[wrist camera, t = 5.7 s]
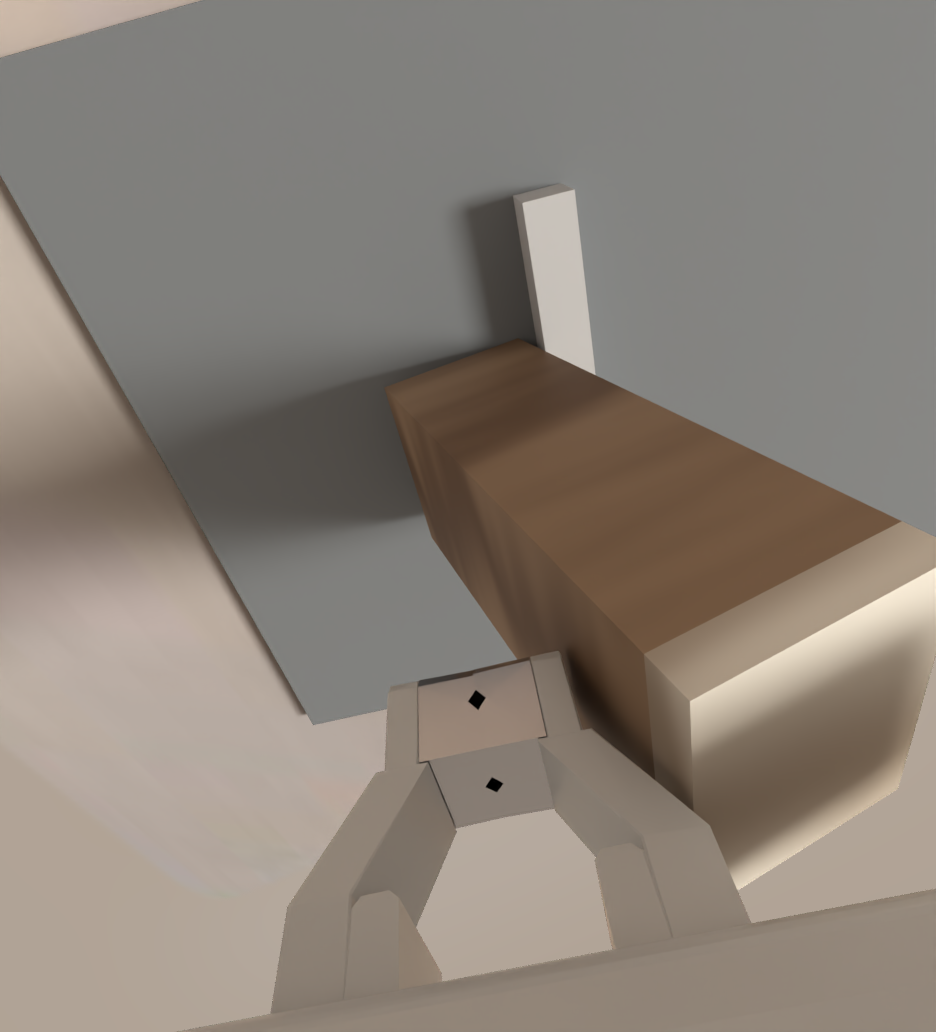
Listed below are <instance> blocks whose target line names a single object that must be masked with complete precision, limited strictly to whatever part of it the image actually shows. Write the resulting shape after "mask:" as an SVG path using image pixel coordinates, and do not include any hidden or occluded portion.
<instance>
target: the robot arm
mask: <svg viewBox="0 0 936 1032" xmlns="http://www.w3.org/2000/svg"><path fill="white" fill-rule="evenodd" d="M530 661H531V662H530ZM531 665H532V666H531ZM532 669H533V670H532ZM534 678H535V679H534ZM537 691H538V692H537ZM549 809H555V811H556V812H557V813H558V814H559V816H560V817H561V818H562V819H563V820H564V821H565V823H566V824H567V825H568V826H569V827H570V828H571V829H572V830H573V832H574V833H575V834H576V835H577V836H578V837H579V838H580V840H581V841H582V842H583V843H584V844H585V845H586V846H587V848H589V850H590V851H591V852H592V853H593V854H594V855H595V857H596V858H595V864H596V869H597V874H598V879H599V884H600V889H601V894H602V900H603V905H604V910H605V915H606V921H607V926H608V931H609V936H610V941H611V945H612V950H608V951H602V952H597V953H591V954H586V955H581V956H575V957H570V958H565V959H559V960H554V961H549V962H544V963H538V964H533V965H528V966H522V967H517V968H512V969H506V970H501V971H496V972H490V973H485V974H480V975H475V976H469V977H464V978H458V979H453V980H448V981H442V976H441V971H440V969H439V968H438V966H437V964H436V962H435V961H434V959H433V957H432V955H431V953H430V952H429V950H428V948H427V946H426V945H425V943H424V941H423V939H422V937H421V936H420V934H419V933H418V930H417V929H416V926H417V923H418V921H419V919H420V916H421V914H422V912H423V910H424V907H425V905H426V902H427V900H428V898H429V895H430V893H431V891H432V888H433V886H434V884H435V881H436V879H437V877H438V874H439V872H440V869H441V867H442V864H443V862H444V860H445V858H446V856H447V853H448V851H449V848H450V846H451V843H452V841H453V839H454V837H455V834H456V832H457V831H456V828H460V827H464V826H468V825H473V824H477V823H481V822H486V821H490V820H494V819H499V818H503V817H508V816H514V815H520V814H526V813H532V812H537V811H543V810H549ZM177 1032H936V889H932V890H926V891H921V892H916V893H910V894H905V895H900V896H895V897H889V898H884V899H879V900H873V901H868V902H863V903H857V904H852V905H847V906H841V907H836V908H831V909H825V910H821V911H815V912H810V913H805V914H799V915H794V916H788V917H783V918H778V919H772V920H767V921H762V922H756V923H751V921H750V919H749V917H748V914H747V912H746V909H745V907H744V905H743V902H742V900H741V898H740V896H739V893H738V891H737V888H736V886H735V884H734V881H733V879H732V876H731V874H730V872H729V869H728V867H727V865H726V862H725V860H724V858H723V855H722V853H721V851H720V848H719V846H718V843H717V841H716V839H715V836H714V834H713V832H712V829H711V827H710V825H709V824H708V823H706V822H705V821H704V820H703V819H702V818H700V817H699V816H698V815H697V814H696V813H694V812H693V811H692V810H691V809H689V808H688V807H687V806H686V805H685V804H683V803H682V802H681V801H680V800H678V799H677V798H676V797H675V796H674V795H672V794H671V793H670V792H669V791H667V790H666V789H665V788H664V787H663V786H661V785H660V784H659V783H658V782H657V781H655V780H654V779H653V778H652V777H650V776H649V775H648V774H647V773H646V772H644V771H643V770H642V769H641V768H639V767H638V766H637V765H636V764H635V763H633V762H632V761H631V760H630V759H628V758H627V757H626V756H625V755H624V754H622V753H621V752H620V751H619V750H618V749H616V748H615V747H614V746H613V745H611V744H610V743H609V742H608V741H607V740H605V739H604V738H603V737H602V736H600V735H599V734H598V733H597V732H596V731H594V730H593V729H592V728H591V729H585V730H583V729H582V726H581V722H580V719H579V715H578V712H577V708H576V705H575V701H574V697H573V694H572V690H571V687H570V683H569V680H568V676H567V673H566V669H565V666H564V662H563V659H562V655H561V654H560V652H559V651H554V652H550V653H545V654H541V655H536V656H532V657H530V658H529V657H526V658H522V659H518V660H513V661H509V662H504V663H500V664H495V665H491V666H487V667H482V668H478V669H474V670H472V671H466V672H461V673H456V674H450V675H445V676H440V677H434V678H429V679H424V680H419V681H415V682H410V683H405V684H400V685H395V686H391V687H390V689H389V692H388V699H387V724H386V749H385V771H382V772H378V773H376V774H375V775H374V777H373V778H372V780H371V781H370V783H369V784H368V786H367V787H366V789H365V790H364V792H363V793H362V795H361V796H360V798H359V799H358V801H357V802H356V804H355V806H354V807H353V809H352V810H351V812H350V813H349V815H348V816H347V818H346V819H345V821H344V822H343V824H342V825H341V827H340V828H339V830H338V831H337V833H336V834H335V836H334V837H333V839H332V840H331V842H330V843H329V845H328V846H327V848H326V849H325V851H324V852H323V854H322V856H321V857H320V859H319V860H318V862H317V863H316V865H315V866H314V868H313V869H312V871H311V872H310V874H309V876H308V877H307V878H306V880H305V881H304V883H303V884H302V886H301V887H300V889H299V890H298V892H297V894H296V895H295V896H294V898H293V899H292V901H291V903H290V904H289V906H288V907H287V913H286V919H285V925H284V932H283V938H282V945H281V951H280V957H279V963H278V970H277V976H276V982H275V988H274V995H273V1001H272V1008H271V1014H267V1015H262V1016H257V1017H252V1018H246V1019H241V1020H236V1021H230V1022H226V1023H220V1024H215V1025H209V1026H204V1027H199V1028H193V1029H188V1030H183V1031H177Z"/></svg>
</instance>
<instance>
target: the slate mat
mask: <svg viewBox="0 0 936 1032" xmlns="http://www.w3.org/2000/svg"><path fill="white" fill-rule="evenodd" d="M0 176H1V177H2V179H3V181H4V183H5V184H6V186H7V188H8V190H9V192H10V193H11V195H12V197H13V199H14V200H15V202H16V204H17V206H18V207H19V209H20V211H21V213H22V214H23V216H24V218H25V220H26V221H27V223H28V225H29V227H30V228H31V230H32V232H33V234H34V235H35V237H36V239H37V241H38V242H39V244H40V246H41V248H42V249H43V251H44V253H45V255H46V257H47V258H48V260H49V262H50V264H51V265H52V267H53V269H54V271H55V272H56V274H57V276H58V278H59V279H60V281H61V283H62V285H63V286H64V288H65V290H66V292H67V293H68V295H69V297H70V299H71V300H72V302H73V304H74V306H75V307H76V309H77V311H78V313H79V315H80V316H81V318H82V320H83V322H84V323H85V325H86V327H87V329H88V330H89V332H90V334H91V336H92V337H93V339H94V341H95V343H96V344H97V346H98V348H99V350H100V351H101V353H102V355H103V357H104V358H105V360H106V362H107V364H108V365H109V367H110V369H111V371H112V372H113V374H114V376H115V378H116V380H117V381H118V383H119V385H120V387H121V388H122V390H123V392H124V394H125V395H126V397H127V399H128V401H129V402H130V404H131V406H132V408H133V409H134V411H135V413H136V415H137V416H138V418H139V420H140V422H141V423H142V425H143V427H144V429H145V430H146V432H147V434H148V436H149V437H150V439H151V441H152V443H153V445H154V446H155V448H156V450H157V452H158V453H159V455H160V457H161V459H162V460H163V462H164V464H165V466H166V467H167V469H168V471H169V473H170V474H171V476H172V478H173V480H174V481H175V483H176V485H177V487H178V488H179V490H180V492H181V494H182V495H183V497H184V499H185V501H186V503H187V504H188V506H189V508H190V510H191V511H192V513H193V515H194V517H195V518H196V520H197V522H198V524H199V525H200V527H201V529H202V531H203V532H204V534H205V536H206V538H207V539H208V541H209V543H210V545H211V546H212V548H213V550H214V552H215V553H216V555H217V557H218V559H219V560H220V562H221V564H222V566H223V568H224V569H225V571H226V573H227V575H228V576H229V578H230V580H231V582H232V583H233V585H234V587H235V589H236V590H237V592H238V594H239V596H240V597H241V599H242V601H243V603H244V604H245V606H246V608H247V610H248V611H249V613H250V615H251V617H252V618H253V620H254V622H255V624H256V626H257V627H258V629H259V631H260V633H261V634H262V636H263V638H264V640H265V641H266V643H267V645H268V647H269V648H270V650H271V652H272V654H273V655H274V657H275V659H276V661H277V662H278V664H279V666H280V668H281V669H282V671H283V673H284V675H285V676H286V678H287V680H288V682H289V683H290V685H291V687H292V689H293V691H294V692H295V694H296V696H297V698H298V699H299V701H300V703H301V705H302V706H303V708H304V710H305V712H306V713H307V715H308V717H309V719H310V720H311V722H312V724H313V725H316V724H320V723H325V722H329V721H334V720H339V719H343V718H348V717H352V716H357V715H361V714H366V713H371V712H375V711H380V710H384V709H387V699H388V692H389V689H390V687H391V686H395V685H400V684H405V683H410V682H415V681H419V680H424V679H429V678H434V677H440V676H445V675H450V674H456V673H461V672H466V671H472V670H474V669H478V668H482V667H487V666H491V665H495V664H500V663H504V662H509V661H513V660H517V658H516V657H515V656H514V654H513V653H512V651H511V650H510V648H509V647H508V646H507V644H506V643H505V641H504V640H503V638H502V637H501V636H500V634H499V633H498V631H497V630H496V629H495V627H494V626H493V624H492V623H491V621H490V620H489V619H488V617H487V616H486V614H485V613H484V611H483V610H482V609H481V607H480V606H479V604H478V603H477V601H476V600H475V599H474V597H473V596H472V594H471V593H470V591H469V590H468V589H467V587H466V586H465V584H464V583H463V581H462V580H461V579H460V577H459V576H458V574H457V573H456V572H455V570H454V569H453V567H452V566H451V564H450V563H449V562H448V560H447V559H446V557H445V556H444V554H443V553H442V552H441V550H440V549H439V547H438V546H437V544H436V543H435V542H434V540H433V539H432V537H431V534H430V531H429V528H428V524H427V521H426V518H425V515H424V512H423V509H422V506H421V502H420V499H419V496H418V493H417V490H416V487H415V483H414V480H413V477H412V474H411V471H410V468H409V465H408V461H407V458H406V455H405V452H404V449H403V446H402V442H401V439H400V436H399V433H398V430H397V427H396V424H395V420H394V417H393V414H392V411H391V408H390V405H389V401H388V398H387V395H386V392H385V389H384V387H387V386H390V385H392V384H395V383H398V382H400V381H403V380H406V379H409V378H411V377H414V376H417V375H419V374H422V373H425V372H428V371H430V370H433V369H436V368H438V367H441V366H444V365H447V364H449V363H452V362H455V361H458V360H460V359H463V358H466V357H468V356H471V355H474V354H477V353H479V352H482V351H485V350H487V349H490V348H493V347H496V346H498V345H501V344H504V343H507V342H509V341H512V340H515V339H517V338H519V339H521V340H523V341H525V342H527V343H529V344H531V345H533V346H535V347H538V348H540V349H542V350H544V351H546V352H548V353H550V354H552V355H554V356H556V357H558V358H561V359H563V360H565V361H567V362H569V363H571V364H573V365H575V366H577V367H579V368H582V369H584V370H586V371H588V372H590V373H592V374H594V375H596V376H598V377H600V378H603V379H605V380H607V381H609V382H611V383H613V384H615V385H617V386H619V387H621V388H624V389H626V390H628V391H630V392H632V393H634V394H636V395H638V396H640V397H642V398H644V399H647V400H649V401H651V402H653V403H655V404H657V405H659V406H661V407H663V408H665V409H668V410H670V411H672V412H674V413H676V414H678V415H680V416H682V417H684V418H686V419H689V420H691V421H693V422H695V423H697V424H699V425H701V426H703V427H705V428H707V429H710V430H712V431H714V432H716V433H718V434H720V435H722V436H724V437H726V438H728V439H730V440H733V441H735V442H737V443H739V444H741V445H743V446H745V447H747V448H749V449H751V450H754V451H756V452H758V453H760V454H762V455H764V456H766V457H768V458H770V459H772V460H775V461H777V462H779V463H781V464H783V465H785V466H787V467H789V468H791V469H793V470H796V471H798V472H800V473H802V474H804V475H806V476H808V477H810V478H812V479H814V480H816V481H819V482H821V483H823V484H825V485H827V486H829V487H831V488H833V489H835V490H837V491H840V492H842V493H844V494H846V495H848V496H850V497H852V498H854V499H856V500H858V501H861V502H863V503H865V504H867V505H869V506H871V507H873V508H875V509H877V510H879V511H882V512H884V513H886V514H888V515H890V516H892V517H894V518H896V519H898V520H900V521H902V522H905V523H907V524H909V525H911V526H913V527H915V528H917V529H919V530H921V531H923V532H926V533H928V534H930V535H932V536H934V537H936V0H202V1H198V2H195V3H191V4H188V5H184V6H181V7H177V8H174V9H170V10H167V11H163V12H160V13H156V14H153V15H149V16H146V17H142V18H139V19H135V20H132V21H128V22H125V23H121V24H118V25H114V26H111V27H107V28H104V29H100V30H97V31H93V32H90V33H86V34H83V35H79V36H76V37H72V38H68V39H65V40H61V41H58V42H54V43H51V44H47V45H44V46H40V47H37V48H33V49H30V50H26V51H23V52H19V53H16V54H12V55H9V56H5V57H2V58H0Z"/></svg>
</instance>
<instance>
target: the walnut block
mask: <svg viewBox="0 0 936 1032" xmlns="http://www.w3.org/2000/svg"><path fill="white" fill-rule="evenodd" d="M384 389H385V392H386V395H387V398H388V401H389V405H390V408H391V411H392V414H393V417H394V420H395V424H396V427H397V430H398V433H399V436H400V439H401V442H402V446H403V449H404V452H405V455H406V458H407V461H408V465H409V468H410V471H411V474H412V477H413V480H414V483H415V487H416V490H417V493H418V496H419V499H420V502H421V506H422V509H423V512H424V515H425V518H426V521H427V524H428V528H429V531H430V534H431V537H432V539H433V540H434V542H435V543H436V544H437V546H438V547H439V549H440V550H441V552H442V553H443V554H444V556H445V557H446V559H447V560H448V562H449V563H450V564H451V566H452V567H453V569H454V570H455V572H456V573H457V574H458V576H459V577H460V579H461V580H462V581H463V583H464V584H465V586H466V587H467V589H468V590H469V591H470V593H471V594H472V596H473V597H474V599H475V600H476V601H477V603H478V604H479V606H480V607H481V609H482V610H483V611H484V613H485V614H486V616H487V617H488V619H489V620H490V621H491V623H492V624H493V626H494V627H495V629H496V630H497V631H498V633H499V634H500V636H501V637H502V638H503V640H504V641H505V643H506V644H507V646H508V647H509V648H510V650H511V651H512V653H513V654H514V656H515V657H516V658H517V660H518V659H522V658H526V657H529V658H530V657H532V656H536V655H541V654H545V653H550V652H554V651H559V652H560V654H561V655H562V659H563V662H564V666H565V669H566V673H567V676H568V680H569V683H570V687H571V690H572V694H573V697H574V701H575V705H576V708H577V712H578V715H579V719H580V722H581V726H582V729H583V730H585V729H591V728H592V729H593V730H594V731H596V732H597V733H598V734H599V735H600V736H602V737H603V738H604V739H605V740H607V741H608V742H609V743H610V744H611V745H613V746H614V747H615V748H616V749H618V750H619V751H620V752H621V753H622V754H624V755H625V756H626V757H627V758H628V759H630V760H631V761H632V762H633V763H635V764H636V765H637V766H638V767H639V768H641V769H642V770H643V771H644V772H646V773H647V774H648V775H649V776H650V777H652V778H653V779H654V780H655V781H657V782H658V783H659V784H660V785H661V786H663V787H664V788H665V789H666V790H667V791H669V792H670V793H671V794H672V795H674V796H675V797H676V798H677V799H678V800H680V801H681V802H682V803H683V804H685V805H686V806H687V807H688V808H689V809H691V810H692V811H693V812H694V813H696V814H697V815H698V816H699V817H700V818H702V819H703V820H704V821H705V822H706V823H708V824H709V825H710V827H711V829H712V832H713V834H714V836H715V839H716V841H717V843H718V846H719V848H720V851H721V853H722V855H723V858H724V860H725V862H726V865H727V867H728V869H729V872H730V874H731V876H732V879H733V881H734V884H735V886H736V888H737V891H738V890H739V889H741V888H742V887H744V886H745V885H747V884H749V883H750V882H752V881H753V880H755V879H757V878H758V877H760V876H761V875H763V874H764V873H766V872H768V871H769V870H771V869H772V868H774V867H775V866H777V865H779V864H780V863H782V862H783V861H785V860H786V859H788V858H790V857H791V856H793V855H794V854H796V853H798V852H799V851H801V850H802V849H804V848H805V847H807V846H809V845H810V844H812V843H813V842H815V841H816V840H818V839H820V838H821V837H823V836H824V835H826V834H828V833H829V832H831V831H832V830H834V829H835V828H837V827H838V826H840V825H842V824H843V823H845V822H846V821H848V820H850V819H851V818H853V817H854V816H856V815H857V814H859V813H861V812H862V811H863V810H865V809H867V808H869V807H870V806H872V805H873V804H875V803H876V802H878V801H880V800H881V799H883V798H884V797H886V796H887V795H889V794H890V793H892V792H894V791H895V790H897V789H898V787H899V783H900V780H901V776H902V773H903V769H904V766H905V762H906V759H907V755H908V751H909V748H910V745H911V741H912V738H913V734H914V731H915V727H916V723H917V720H918V716H919V713H920V710H921V706H922V702H923V699H924V695H925V692H926V688H927V685H928V681H929V678H930V674H931V671H932V667H933V664H934V660H935V657H936V537H934V536H932V535H930V534H928V533H926V532H923V531H921V530H919V529H917V528H915V527H913V526H911V525H909V524H907V523H905V522H902V521H900V520H898V519H896V518H894V517H892V516H890V515H888V514H886V513H884V512H882V511H879V510H877V509H875V508H873V507H871V506H869V505H867V504H865V503H863V502H861V501H858V500H856V499H854V498H852V497H850V496H848V495H846V494H844V493H842V492H840V491H837V490H835V489H833V488H831V487H829V486H827V485H825V484H823V483H821V482H819V481H816V480H814V479H812V478H810V477H808V476H806V475H804V474H802V473H800V472H798V471H796V470H793V469H791V468H789V467H787V466H785V465H783V464H781V463H779V462H777V461H775V460H772V459H770V458H768V457H766V456H764V455H762V454H760V453H758V452H756V451H754V450H751V449H749V448H747V447H745V446H743V445H741V444H739V443H737V442H735V441H733V440H730V439H728V438H726V437H724V436H722V435H720V434H718V433H716V432H714V431H712V430H710V429H707V428H705V427H703V426H701V425H699V424H697V423H695V422H693V421H691V420H689V419H686V418H684V417H682V416H680V415H678V414H676V413H674V412H672V411H670V410H668V409H665V408H663V407H661V406H659V405H657V404H655V403H653V402H651V401H649V400H647V399H644V398H642V397H640V396H638V395H636V394H634V393H632V392H630V391H628V390H626V389H624V388H621V387H619V386H617V385H615V384H613V383H611V382H609V381H607V380H605V379H603V378H600V377H598V376H596V375H594V374H592V373H590V372H588V371H586V370H584V369H582V368H579V367H577V366H575V365H573V364H571V363H569V362H567V361H565V360H563V359H561V358H558V357H556V356H554V355H552V354H550V353H548V352H546V351H544V350H542V349H540V348H538V347H535V346H533V345H531V344H529V343H527V342H525V341H523V340H521V339H519V338H517V339H515V340H512V341H509V342H507V343H504V344H501V345H498V346H496V347H493V348H490V349H487V350H485V351H482V352H479V353H477V354H474V355H471V356H468V357H466V358H463V359H460V360H458V361H455V362H452V363H449V364H447V365H444V366H441V367H438V368H436V369H433V370H430V371H428V372H425V373H422V374H419V375H417V376H414V377H411V378H409V379H406V380H403V381H400V382H398V383H395V384H392V385H390V386H387V387H384ZM530 662H531V661H530ZM531 666H532V665H531ZM532 670H533V669H532ZM534 679H535V678H534Z"/></svg>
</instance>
